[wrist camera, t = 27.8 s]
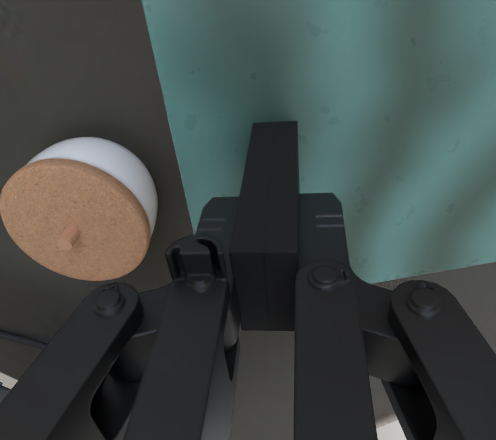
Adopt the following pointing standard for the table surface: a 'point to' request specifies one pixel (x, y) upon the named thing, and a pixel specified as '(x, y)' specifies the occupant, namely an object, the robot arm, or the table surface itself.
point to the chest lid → (345, 115)
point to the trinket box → (82, 209)
